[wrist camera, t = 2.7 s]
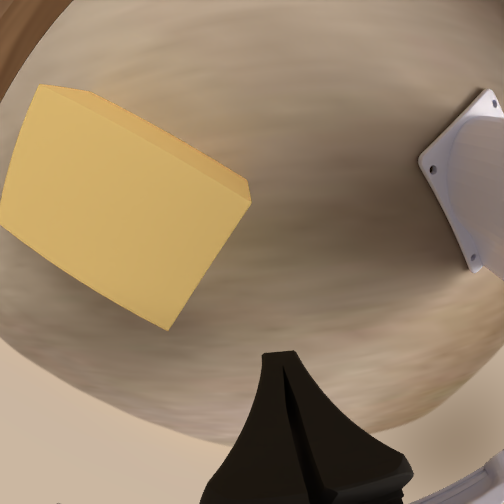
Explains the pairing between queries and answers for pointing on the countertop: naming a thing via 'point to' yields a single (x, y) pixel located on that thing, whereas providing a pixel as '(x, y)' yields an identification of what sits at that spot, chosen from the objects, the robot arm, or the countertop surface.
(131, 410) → the countertop surface
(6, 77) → the walnut board
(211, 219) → the ochre block
